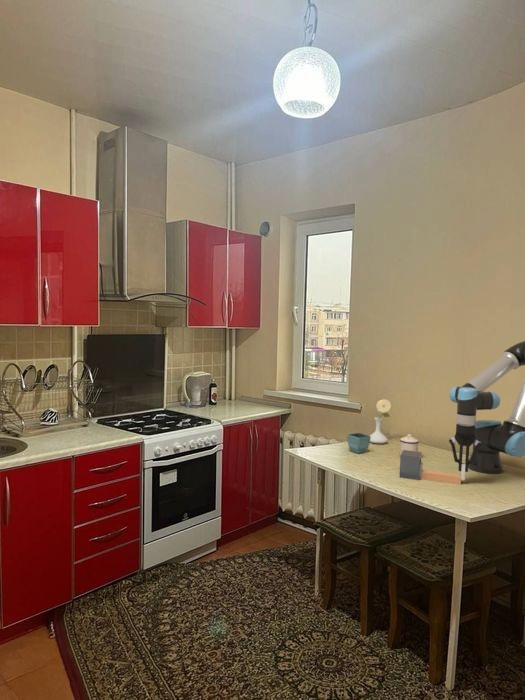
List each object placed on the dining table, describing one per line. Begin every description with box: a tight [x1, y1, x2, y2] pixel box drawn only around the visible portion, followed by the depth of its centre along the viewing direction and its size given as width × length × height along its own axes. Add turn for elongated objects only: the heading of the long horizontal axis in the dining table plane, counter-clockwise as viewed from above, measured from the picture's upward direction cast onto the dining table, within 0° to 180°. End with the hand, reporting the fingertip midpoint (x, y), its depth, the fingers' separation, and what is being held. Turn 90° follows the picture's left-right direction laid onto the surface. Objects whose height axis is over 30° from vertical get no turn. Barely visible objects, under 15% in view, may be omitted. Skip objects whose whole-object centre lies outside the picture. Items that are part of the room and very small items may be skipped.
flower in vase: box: [369, 398, 392, 444], centre depth 280 cm, size 13×11×25 cm
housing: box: [399, 450, 423, 481], centre depth 223 cm, size 8×10×10 cm
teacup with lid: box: [399, 433, 420, 457], centre depth 254 cm, size 12×9×12 cm
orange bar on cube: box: [419, 461, 462, 485], centre depth 219 cm, size 22×5×6 cm, turn 68°
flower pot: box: [346, 432, 371, 454], centre depth 260 cm, size 9×9×9 cm
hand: (462, 478), depth 215 cm, fingers closed
